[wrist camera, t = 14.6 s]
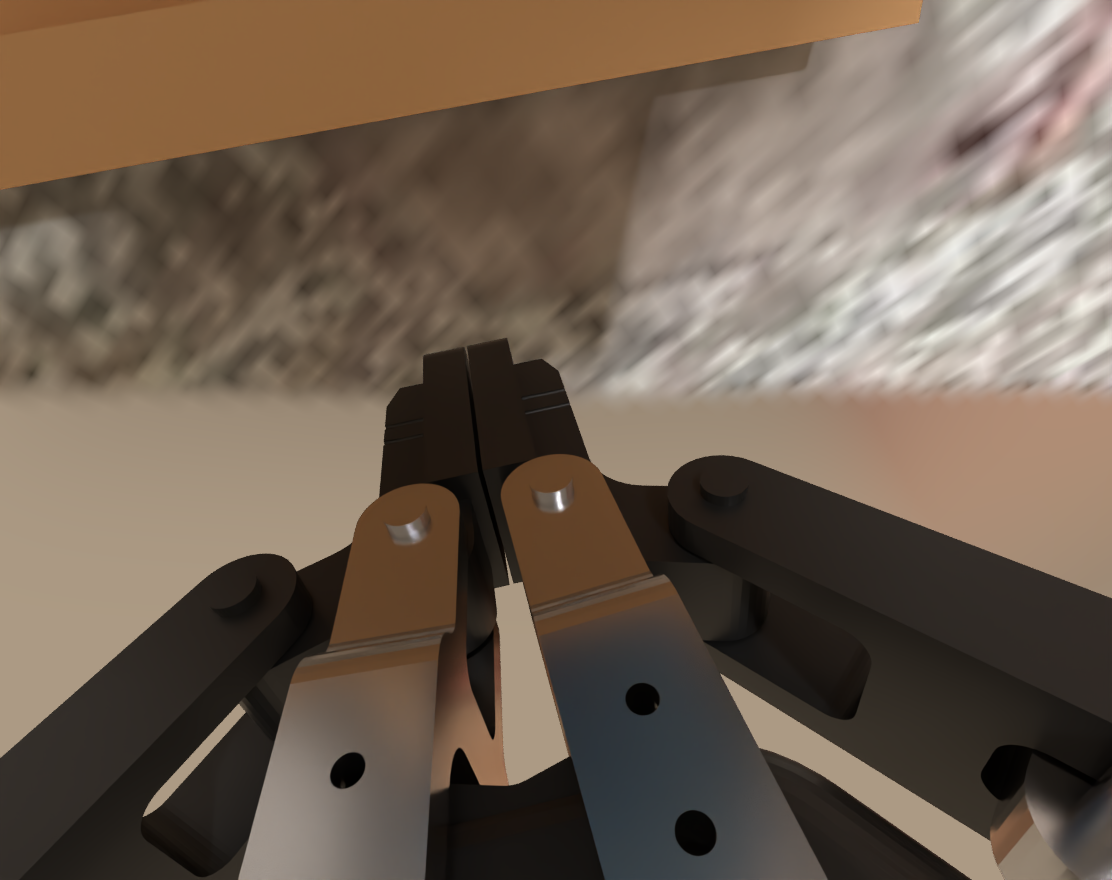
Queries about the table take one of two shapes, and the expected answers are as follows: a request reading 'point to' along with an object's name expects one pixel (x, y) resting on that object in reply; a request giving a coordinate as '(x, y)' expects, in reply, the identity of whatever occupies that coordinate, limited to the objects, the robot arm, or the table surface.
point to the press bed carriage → (339, 64)
